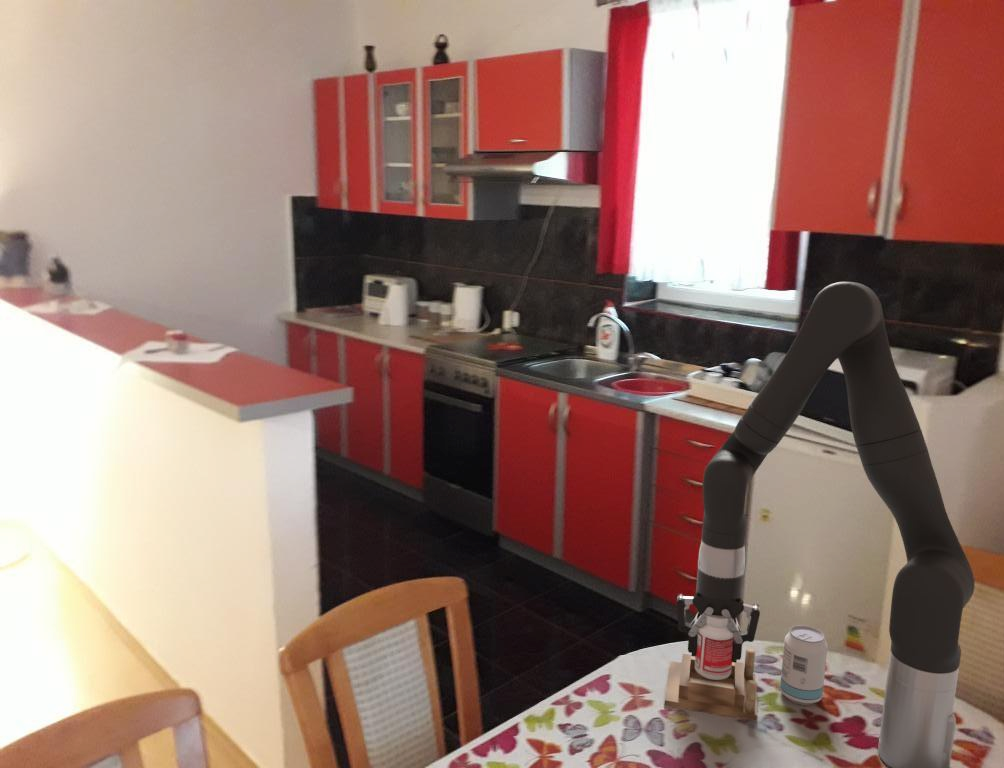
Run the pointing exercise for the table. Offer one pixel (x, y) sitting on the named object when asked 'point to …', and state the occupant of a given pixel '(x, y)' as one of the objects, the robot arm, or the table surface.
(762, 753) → the table surface
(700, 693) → the holder
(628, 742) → the table surface
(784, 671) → the beverage can
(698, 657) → the pill bottle
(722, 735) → the table surface
